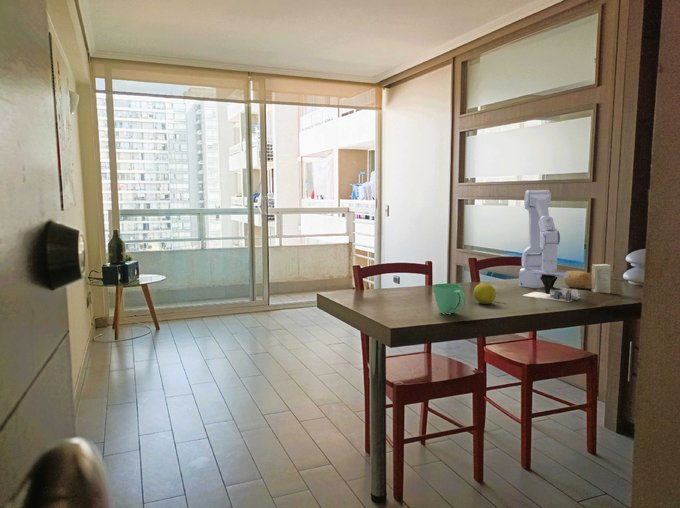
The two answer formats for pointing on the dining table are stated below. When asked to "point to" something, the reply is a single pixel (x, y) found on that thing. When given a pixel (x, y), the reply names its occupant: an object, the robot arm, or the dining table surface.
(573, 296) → the tube
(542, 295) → the board
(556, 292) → the collar
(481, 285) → the lemon
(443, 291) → the mug
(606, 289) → the skincare box
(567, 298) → the collar
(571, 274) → the potato
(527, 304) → the dining table surface
